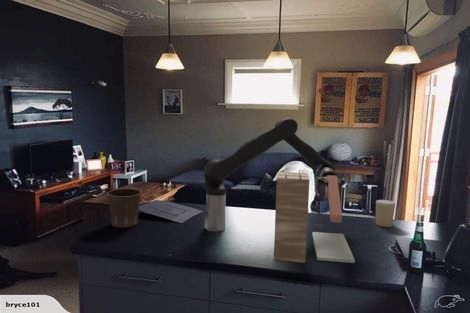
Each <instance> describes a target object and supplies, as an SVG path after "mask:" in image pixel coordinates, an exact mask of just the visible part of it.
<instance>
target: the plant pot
mask: <svg viewBox="0 0 470 313" xmlns="http://www.w3.org/2000/svg"><path fill="white" fill-rule="evenodd" d="M142 194H143V193H142V190H140V189H136V188H117V189H112V190H109V191H107V192H106V195H107V198H108V199H107V200H108V202H109V210H110V220H111V226H112V227H114V228H116V227H117V228H119V229H122V228H123V229H127V228H132V227H134V226H137V225H138V223H139V222H138V220H139V211H140V210H139V206H140V201H141V195H142Z"/></svg>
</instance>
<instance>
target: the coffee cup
mask: <svg viewBox="0 0 470 313" xmlns="http://www.w3.org/2000/svg"><path fill="white" fill-rule="evenodd" d="M395 206H396V203H395V201H393V200H389V199H377V200H376V201H375V225H378V226H380V227H387V228H388V227H389V228H390V227H393V226H392V225H393V222H394V214H395V210H396V209H395V208H396V207H395Z"/></svg>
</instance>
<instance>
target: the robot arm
mask: <svg viewBox="0 0 470 313" xmlns="http://www.w3.org/2000/svg"><path fill="white" fill-rule="evenodd" d="M298 127H299V126H298V123H297V121H296V120H295V119H293V118H284V119H280V120H278V121H277V122H276V123H275V124H274V127H273V128H271V129H270V130H267V131H264V132H262V133H260V134H258V135H256V136H253V137H251V138H249V139H248V140H246V141H245V142H243V143H242V144H241V145H240V146H239V147H238V148H237V150H236V151H235V152H233V153H232V154H231V155H230V156H228V157H226V158H224V159H221V160H218V159H210V160H209V161H208V162H207V163H206V164H205V168H204V186H205V191H206V194H205V195H206V196H205V197H206V199H205V203H206V204H205V208H204V229H206V231H208V232H222V231H225V230H226V204H227V201H226V198H227V196H226V195H227V188H226V186H225V183H224V180H225V179H226V178H228V177H230V175H232V174H234V172H235V171H237V170H239V168H241V167H244V166H245V165H247V164H248V163H250V162H251V161H253V160H255V159H256V158H258V157H260V156H262V155H263V154H265V153H266V152H267V151H269V150H270V149H271V148H273V147H274V146H275V145H277V144H279V143H280V142H282V141H284V142H286V143H287V144H288V145H289V146H290V147H292V149H294V150H295V151H296V152H297V153H298V154H299V155H300V156H301V157H302V158H303V159H304V160H305V161H306V162H307V163H308V164H309V166H310V167H312V168H313V167H314V168H315V167H317V166H319V165H320V166H319V167H318V168H317V169H316V170H315V172H314V174H315V183H316V184H318V185H320V186H322V185H324V186H325V187H326V188H327V187H328V183H329V182H328V180H327V176H328V175H331V176H337V181H338V188H340V187H341V186H342V187H343V186H345V184H346V178H345V177H343V178H341V179H340V177H339V176H338V175H337V173H336V170H337V169H336V166H335V165H334V164H333V163H332V162H330V161H329V160H327V159H325V158H324V157H323V156H321V155H320V154H319V152H317V150H316V149H314V147H312V146H311V145H310V144H309V143H307V142H305V141H304V140H303V139H301V138H300V137H298V135H297V134H296V133H297V130H298Z"/></svg>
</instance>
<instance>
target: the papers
mask: <svg viewBox="0 0 470 313" xmlns="http://www.w3.org/2000/svg"><path fill="white" fill-rule="evenodd" d="M139 211H140V212H142V213H145V214H149V215H153V216H156V217H160V218H163V219H166V220H169V221H173V222H176V223H180V224H182V223H185V222H186V221H188V220H189V219H191V218H192V217H195V216H196V215H199V214H201V213H204V211H203V210H199V209H197V208H194V207H191V206H187V205H184V204H183V205H182V204H179V203H175V202H171V201H166V200H159V199H154V200H152V201H150V202H147V203H145V204H141V205H139Z"/></svg>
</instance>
